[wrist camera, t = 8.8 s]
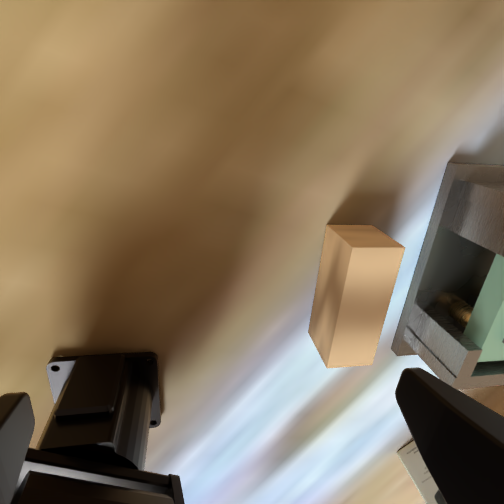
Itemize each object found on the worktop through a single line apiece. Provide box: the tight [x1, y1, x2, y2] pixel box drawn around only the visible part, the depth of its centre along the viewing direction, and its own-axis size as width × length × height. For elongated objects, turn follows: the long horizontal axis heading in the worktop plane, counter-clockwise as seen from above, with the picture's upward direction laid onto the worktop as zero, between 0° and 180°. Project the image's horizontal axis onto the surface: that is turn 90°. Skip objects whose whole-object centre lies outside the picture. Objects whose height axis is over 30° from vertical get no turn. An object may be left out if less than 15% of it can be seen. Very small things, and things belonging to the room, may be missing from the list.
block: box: [308, 225, 405, 368], centre depth 20 cm, size 8×3×4 cm, turn 176°
